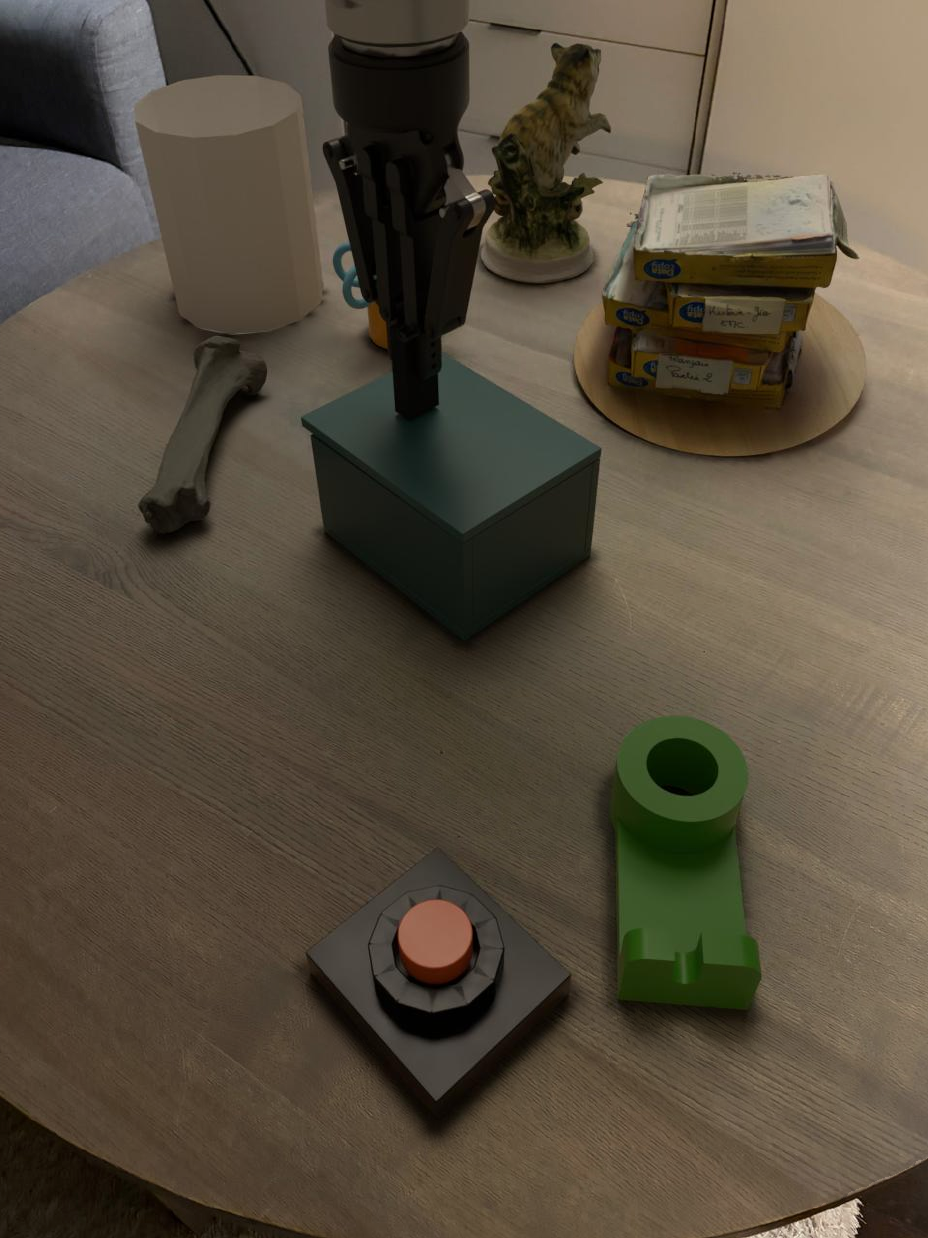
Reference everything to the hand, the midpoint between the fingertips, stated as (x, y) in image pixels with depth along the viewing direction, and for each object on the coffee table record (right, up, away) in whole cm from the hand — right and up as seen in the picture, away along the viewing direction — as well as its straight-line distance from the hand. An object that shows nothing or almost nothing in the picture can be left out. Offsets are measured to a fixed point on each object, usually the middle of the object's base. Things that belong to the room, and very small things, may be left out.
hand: (417, 407), depth 72 cm
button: (+2, -31, -21) cm, 37 cm away
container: (-18, +17, +31) cm, 40 cm away
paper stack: (+25, +7, +21) cm, 34 cm away
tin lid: (+2, -2, -1) cm, 3 cm away
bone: (-17, -1, +14) cm, 22 cm away
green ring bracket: (+15, -29, -14) cm, 35 cm away
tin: (+3, -9, +5) cm, 11 cm away
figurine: (+11, +23, +36) cm, 44 cm away
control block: (+2, -33, -18) cm, 38 cm away
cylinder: (-3, +12, +26) cm, 29 cm away
